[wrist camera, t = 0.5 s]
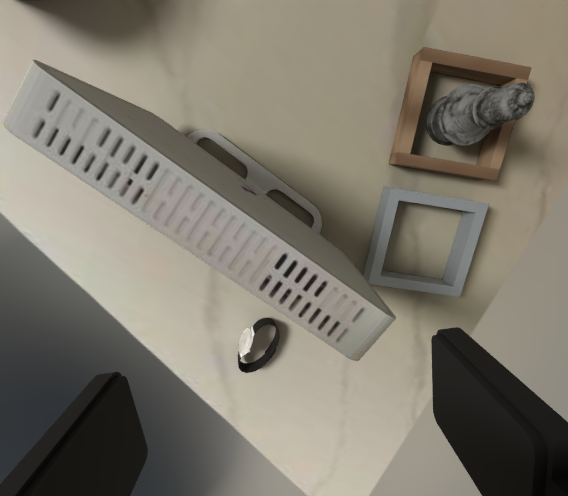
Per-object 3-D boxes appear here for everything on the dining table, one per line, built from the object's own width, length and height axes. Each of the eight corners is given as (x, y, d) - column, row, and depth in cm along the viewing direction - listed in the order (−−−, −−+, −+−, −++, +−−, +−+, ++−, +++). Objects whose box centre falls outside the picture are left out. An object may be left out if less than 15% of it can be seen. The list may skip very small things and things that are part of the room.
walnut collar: (413, 55, 34) (424, 46, 31) (513, 74, 34) (531, 67, 32) (388, 164, 37) (396, 163, 34) (482, 179, 37) (496, 180, 35)
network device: (352, 233, 38) (428, 298, 19) (309, 288, 40) (338, 399, 21) (172, 99, 34) (36, 8, 15) (132, 165, 36) (-37, 160, 17)
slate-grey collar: (383, 186, 37) (390, 187, 35) (475, 201, 38) (489, 203, 35) (362, 277, 40) (368, 283, 37) (449, 289, 40) (460, 297, 38)
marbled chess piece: (414, 137, 36) (480, 121, 24) (437, 84, 35) (518, 40, 23) (460, 155, 36) (545, 148, 25) (484, 104, 35) (587, 71, 24)
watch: (256, 308, 41) (254, 321, 37) (288, 323, 41) (288, 338, 38) (230, 355, 42) (225, 372, 39) (261, 369, 43) (259, 387, 39)
